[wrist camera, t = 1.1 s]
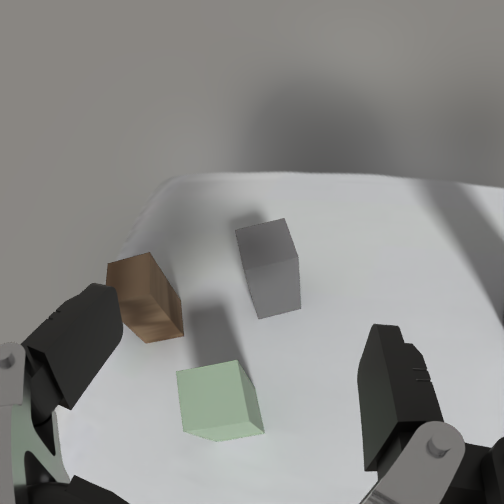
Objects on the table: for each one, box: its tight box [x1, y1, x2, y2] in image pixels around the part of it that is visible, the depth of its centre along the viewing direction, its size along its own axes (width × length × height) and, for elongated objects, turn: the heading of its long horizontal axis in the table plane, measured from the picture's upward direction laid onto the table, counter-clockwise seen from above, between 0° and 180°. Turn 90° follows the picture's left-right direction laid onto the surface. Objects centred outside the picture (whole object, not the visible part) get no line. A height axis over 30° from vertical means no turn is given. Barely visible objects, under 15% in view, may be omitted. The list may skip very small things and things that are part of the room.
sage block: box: [176, 360, 265, 442], centre depth 26 cm, size 5×5×10 cm
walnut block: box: [106, 252, 184, 343], centre depth 34 cm, size 5×5×10 cm
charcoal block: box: [235, 218, 301, 319], centre depth 34 cm, size 5×5×10 cm
